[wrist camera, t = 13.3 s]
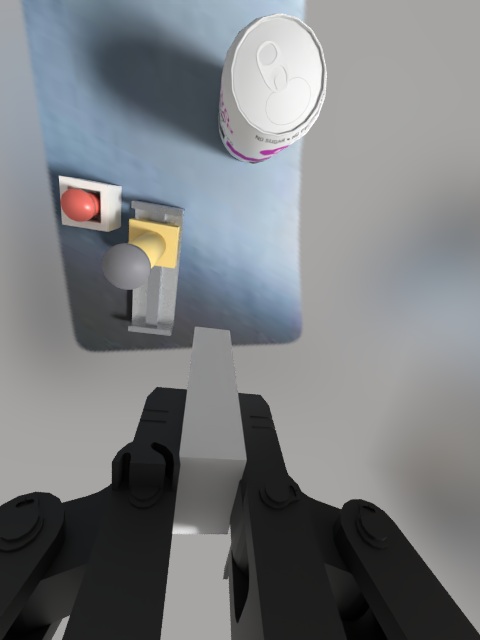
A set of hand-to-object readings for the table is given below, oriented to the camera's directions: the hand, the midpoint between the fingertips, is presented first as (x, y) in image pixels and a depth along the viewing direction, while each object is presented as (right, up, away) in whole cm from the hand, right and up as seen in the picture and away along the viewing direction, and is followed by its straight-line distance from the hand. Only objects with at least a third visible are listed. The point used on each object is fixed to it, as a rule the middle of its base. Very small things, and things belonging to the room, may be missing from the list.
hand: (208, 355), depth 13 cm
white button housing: (-16, +17, +23) cm, 33 cm away
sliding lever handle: (-9, +12, +24) cm, 29 cm away
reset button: (-16, +16, +21) cm, 31 cm away
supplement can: (+3, +25, +22) cm, 33 cm away
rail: (-10, +9, +27) cm, 31 cm away
